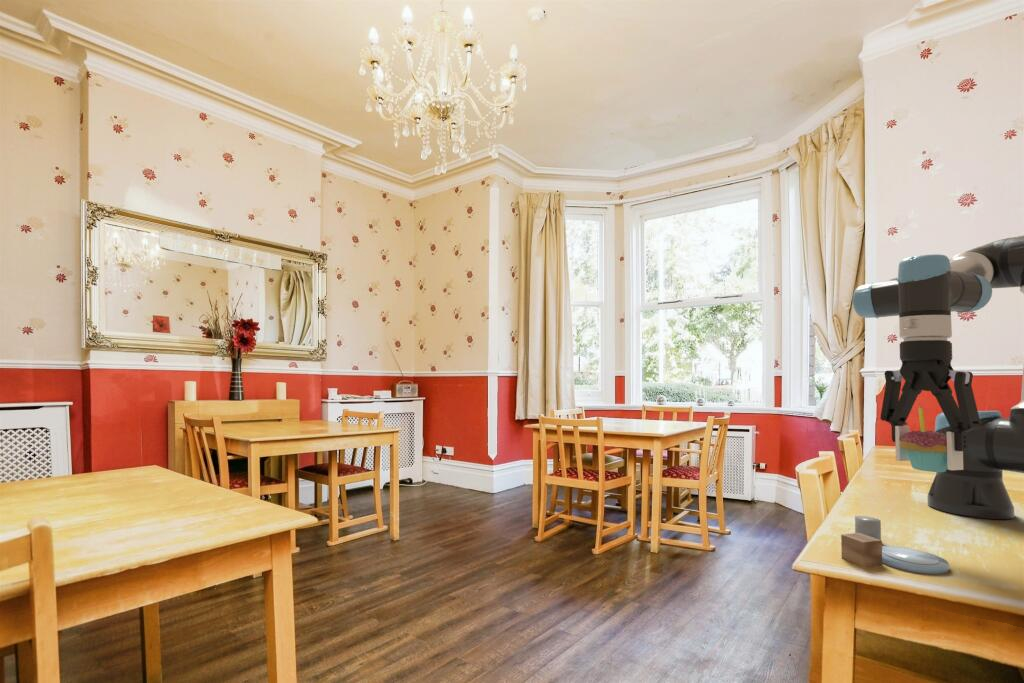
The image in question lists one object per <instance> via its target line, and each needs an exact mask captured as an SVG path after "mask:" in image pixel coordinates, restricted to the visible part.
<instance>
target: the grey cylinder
mask: <svg viewBox="0 0 1024 683" xmlns="http://www.w3.org/2000/svg"><path fill="white" fill-rule="evenodd" d="M881 525H882V523H881V520H880V519H879V518H875V517H871V516H865V515H856V516H855V517H854V532H855V533H861V534H864V535H867V536H870V537H873V538H876V539H879V540H882V531H881V530H882V528H881Z"/></svg>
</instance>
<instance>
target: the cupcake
mask: <svg viewBox="0 0 1024 683" xmlns="http://www.w3.org/2000/svg"><path fill="white" fill-rule="evenodd" d="M918 415H919V416H918V417H919V425H920V426H919V427H920V430H912V431H910V432H908V433H906V434H903V435H902V437H901V438H899V441H900V443H899V445H900V447H901V448H903V449H904V450H905V452H906V454H907V455H908V458H909V460H910V461H909V462H910V465H911V467H912V469H913V470H918V471H923V472H929V473H930V472H932V473H936V472H945V471H946V469H947V436H946V435H945V434H943V433H939V432H937V431H936V432H934V430H926V424H925V414H924V408H923V407H922V406H921V403H918Z"/></svg>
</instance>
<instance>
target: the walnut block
mask: <svg viewBox="0 0 1024 683" xmlns="http://www.w3.org/2000/svg"><path fill="white" fill-rule="evenodd" d="M840 540H841V545H840V546H841V559H843V560H845V561H848V562H850V563H853V564H856V565H858V566H861V567H862V568H864V567H865V568H866V567H873V566H882V565H883V563H882V546H883V541H882V539H881V540H879V539H876V538H873V537H870V536H867V535H864V534H861V533H843V534H842V533H841V538H840Z"/></svg>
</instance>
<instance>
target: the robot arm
mask: <svg viewBox="0 0 1024 683" xmlns="http://www.w3.org/2000/svg"><path fill="white" fill-rule="evenodd" d="M897 270H898V271H897V277H895V278H892V279H888V280H885V281H880V282H875V283H874V282H871V283H867V284H863V285H860V286H858V287H857V288H856V289H855V290H854V292H853V294H852V304H853V309H854V311H855V313H856V314H857V315H858V316H860V317H861V318H865V319H866V318H867V319H869V318H876V319H879V318H885V317H897V316H898V319H899V322H898V323H899V325H898V326H899V331H898V332H899V338H900V339H903V341H901V342H900V343H899V360H900V361H901V366H900V369H897V370H885V371H884V378H885V388H884V394H883V400H882V406H881V412H880V420H881V421H883V422H887V423H889V424H890V425H891V440H892V442H893V443H895V461H897V462H906V461H907V462H908V461H909V462H910V460H909V458H908V455H907V454H906V452H905V450H904V449H903V448H901V447H900V445H899V443H900V441H899V438H901V437H902V435H903V434H906V433H908V432H911V430H910V427H911V426H909V425H908V422H907V420H908V417H909V415H910V413H911V411H912V410H913V406H914V404H915V402H916V400H917V398H918V396H919V395H920V394H921V393H922V391H926V392H930V393H931V394H932V396H934V397H935V398H936V400H937V403H938V405H939V407H940V409H941V411H942V412H941V413H939V414H937V416H936V417H935V424H934V429H933V431H934V432H936V431H937V432H939V433H943V434H945V435H946V436H947V469H946V471H945V472H935V476H934V479H933V481H932V483H931V486H930V489H929V491H928V494H927V506H929V507H931V508H933V509H935V510H939V511H943V512H946V513H950V514H954V515H960V516H967V517H971V518H972V517H973V518H977V519H978V518H979V519H987V520H989V519H991V520H1010V519H1014V518H1015V506H1014V505H1013V501H1012V500H1011V497H1010V495H1009V493H1008V490H1007V488H1006V486H1005V483H1004V480H1003V478H1004V477H1003V471H1007V472H1013V473H1020V474H1024V365H1022V366H1023V367H1022V368H1023V370H1022V380H1021V394H1020V395H1021V397H1020V401H1019V403H1017V404H1016V405H1014V406H1011V408H1010V412H1009V417H1003V415H1002V413H1001V411H999V410H978V407H977V404H976V399H975V395H974V391H973V387H972V385H973V384H972V383H973V377H974V374H973V372H972V371H964V370H963V371H960V370H954V368H953V367H952V360H953V342H951V340H948V339H951V338H952V337H953V334H952V333H953V331H952V330H953V329H952V328H953V327H952V313H953V312H956V313H973V312H975V311H979V310H981V309H982V308H985V307H986V306H987V304H988V303H989V302H990V300H991V299H992V296H993V289H1006V288H1007V289H1008V288H1019V291H1020V292H1021V293H1023V294H1024V235H1018V236H1014V237H1007V238H1003V239H997V240H995V241H991V242H989V243H986V244H984V245H980V246H978V247H977V246H976V247H975V248H972V249H969V250H967V251H964V252H960V253H958V254H956V255H954V256H953V257H951V258H949V257H948V256H947V255H944V254H936V253H934V254H922V255H921V254H920V255H915V256H910V257H905V258H903V259H901V261H899V263H898V269H897ZM951 312H952V313H951ZM902 380H904V384H903V385H902ZM950 380H951V381H952V382H953V388H954V392H955V396H956V400H955V398H954V396H953V390H952V388H951V386H950V384H949V381H950ZM900 394H901V395H900ZM956 401H957V402H956Z"/></svg>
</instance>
